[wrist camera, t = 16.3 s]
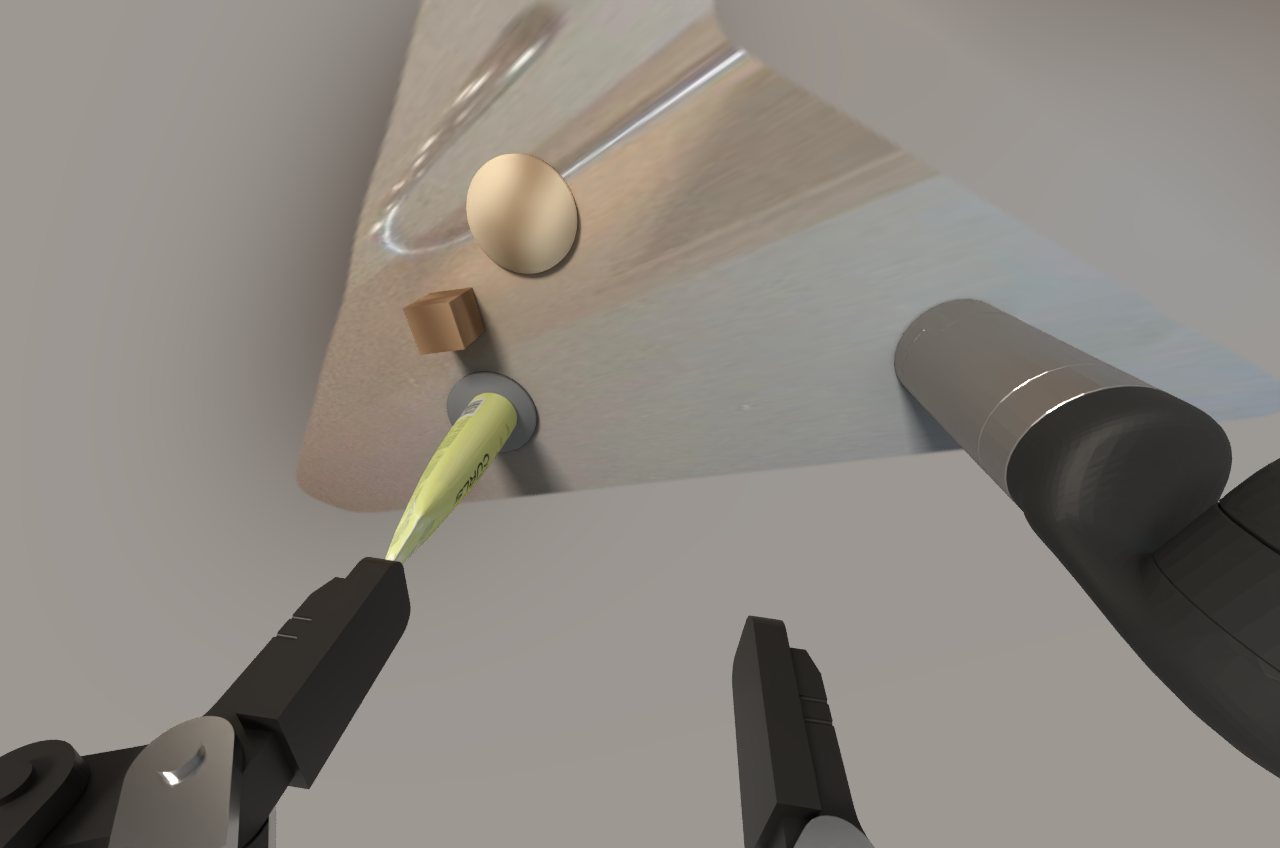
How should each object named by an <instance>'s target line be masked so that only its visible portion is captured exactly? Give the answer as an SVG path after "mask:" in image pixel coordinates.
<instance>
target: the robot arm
mask: <svg viewBox="0 0 1280 848" xmlns="http://www.w3.org/2000/svg"><path fill="white" fill-rule="evenodd" d="M895 369H896V374H897V376H898V378H899V380H900V382H901V383H902V384H903V385H904V386H905V387H906V389H907V390H908V391H909V392H910V393H911V394H912V395H913V396H914V397H915V398H916V399H917V400H918V401H919V402H920V404H921V405H922V406H923V407H924V408H925V409H926V410H927V411H928V412H929V413H930V414H931V415H932V416H933V418H934V419H935V420H936V421H937V422H938V423H939V424H940V425H941V426H942V427H943V428H944V429H945V430H946V431H947V432H948V433H949V434H950V435H951V436H952V438H953V439H954V440H955V441H956V442H957V443H958V444H959V445H960V446H961V447H962V448H963V449H964V450H965V451H966V452H967V453H968V454H969V455H970V456H971V457H972V459H973V460H975V462H976V463H977V464H978V465H979V466H980V467H981V468H982V469H983V470H984V471H985V472H986V473H987V474H988V475H989V476H990V477H991V478H992V479H993V480H994V481H995V482H996V484H997V485H998V486H999V487H1000V488H1001V489H1002V490H1003V491H1004V492H1005V493H1006V494H1007V495H1008V496H1009V497H1010V498H1011V499H1012V500H1013V501H1014V502H1015V503H1016V504H1017V505H1018V507H1019V508H1020V509H1021V510H1022V511H1023V512H1024V515H1025V517H1026V519H1027V521H1028V523H1029V524H1030V526H1031V528H1032V529H1033V530H1034V532H1035V533H1036V534H1037V535H1038V537H1039V538H1040V539H1041V540H1042V541H1043V542H1044V543H1045V545H1046V546H1047V547H1048V548H1049V549H1050V550H1051V551H1052V552H1053V553H1054V555H1055V556H1056V557H1057V558H1058V559H1059V561H1060V562H1061V563H1062V564H1063V565H1064V567H1065V568H1066V569H1067V570H1068V571H1069V572H1070V574H1071V575H1072V576H1073V577H1074V578H1075V580H1076V581H1077V582H1078V583H1079V584H1080V586H1081V587H1082V588H1083V589H1084V591H1085V592H1086V593H1087V594H1088V596H1089V597H1090V598H1091V599H1092V601H1093V602H1094V603H1095V604H1096V605H1097V607H1098V608H1099V609H1100V610H1101V612H1102V613H1103V614H1104V615H1105V617H1106V618H1107V619H1108V620H1109V622H1110V623H1111V624H1112V625H1113V627H1114V628H1115V629H1116V630H1117V632H1118V633H1119V634H1120V635H1121V636H1122V637H1123V639H1124V640H1125V641H1126V642H1127V643H1128V644H1129V645H1130V647H1131V648H1132V649H1133V650H1134V651H1135V653H1136V654H1137V655H1138V656H1139V657H1140V658H1141V660H1142V661H1143V662H1144V663H1145V664H1146V665H1147V666H1148V667H1149V668H1150V670H1151V671H1152V672H1153V673H1154V674H1155V675H1156V676H1157V677H1158V678H1159V679H1160V680H1161V681H1162V682H1163V683H1164V684H1165V685H1166V686H1167V687H1168V688H1169V689H1170V690H1171V691H1172V692H1173V693H1174V694H1175V695H1176V696H1177V697H1178V698H1179V699H1180V700H1181V701H1182V702H1183V703H1184V704H1185V705H1186V706H1187V707H1188V708H1189V709H1190V710H1191V711H1192V712H1193V713H1194V714H1196V715H1197V716H1198V717H1199V718H1200V719H1201V720H1202V721H1204V722H1205V723H1206V724H1207V725H1208V726H1210V727H1211V728H1212V729H1213V730H1214V731H1216V732H1217V733H1218V734H1219V735H1221V736H1222V737H1223V738H1224V739H1225V740H1226V741H1228V742H1229V743H1230V744H1231V745H1233V746H1234V747H1235V748H1236V749H1238V750H1239V751H1240V752H1241V753H1243V754H1244V755H1245V756H1247V757H1248V758H1250V759H1251V760H1252V761H1254V762H1255V763H1257V764H1258V765H1260V766H1261V767H1263V768H1265V769H1266V770H1268V771H1269V772H1271V773H1272V774H1274V775H1276V776H1277V777H1279V778H1280V458H1279V459H1277V460H1276V461H1274V462H1272V463H1270V464H1268V465H1267V466H1265V467H1264V468H1262V469H1260V470H1259V471H1257V472H1256V473H1254V474H1253V475H1252V476H1250V477H1249V478H1248V479H1246V480H1245V481H1243V482H1242V483H1241V484H1239V485H1238V486H1237V487H1236V488H1234V489H1233V490H1232V491H1230V492H1229V493H1228V494H1226V495H1225V496H1224V498H1222V499H1220V496H1221V494H1222V492H1223V490H1224V487H1225V485H1226V483H1227V481H1228V478H1229V474H1230V470H1231V463H1232V452H1231V446H1230V442H1229V440H1228V438H1227V436H1226V433H1225V432H1224V430H1223V429H1222V427H1221V426H1220V425H1218V423H1217V422H1216V421H1215V420H1214V419H1212V418H1211V417H1210V416H1209V415H1208V414H1206V413H1205V412H1203V411H1201V410H1200V409H1198V408H1197V407H1195V406H1193V405H1191V404H1189V403H1187V402H1185V401H1183V400H1181V399H1179V398H1177V397H1175V396H1173V395H1170V394H1168V393H1166V392H1164V391H1162V390H1160V389H1158V388H1156V387H1154V386H1152V385H1150V384H1148V383H1146V382H1144V381H1142V380H1140V379H1138V378H1136V377H1134V376H1132V375H1130V374H1128V373H1126V372H1124V371H1122V370H1120V369H1117V368H1115V367H1113V366H1111V365H1109V364H1107V363H1105V362H1103V361H1101V360H1099V359H1097V358H1095V357H1093V356H1091V355H1089V354H1087V353H1085V352H1083V351H1081V350H1079V349H1077V348H1075V347H1073V346H1071V345H1069V344H1067V343H1065V342H1063V341H1061V340H1059V339H1057V338H1055V337H1053V336H1051V335H1049V334H1047V333H1045V332H1043V331H1041V330H1039V329H1037V328H1035V327H1033V326H1031V325H1029V324H1027V323H1025V322H1023V321H1021V320H1019V319H1017V318H1015V317H1013V316H1011V315H1009V314H1007V313H1005V312H1003V311H1001V310H999V309H997V308H995V307H993V306H991V305H989V304H986V303H984V302H982V301H977V300H971V299H964V300H954V301H950V302H946V303H943V304H940V305H938V306H936V307H934V308H931V309H930V310H928V311H927V312H925V313H924V314H922V315H921V316H920V317H918V318H917V319H916V320H915V321H914V322H913V323H912V324H911V325H910V326H909V327H908V329H907V330H906V331H905V333H904V334H903V336H902V338H901V339H900V341H899V343H898V346H897V350H896V353H895ZM1219 499H1220V500H1219ZM1218 500H1219V501H1220V502H1218ZM409 616H410V601H409V595H408V590H407V584H406V579H405V574H404V568H403V565H402V563H401V562H399V561H392V560H385V559H379V558H372V557H366V558H364V559H362V560H361V561H360V562H359V563H358V564H357V565H356V566H355V568H354V569H353V570H352V571H351V572H350V574H349V575H348V576H347V577H346V579H344V578H338V577H335V578H334V579H333V580H331V581H329V582H328V583H326V584H325V585H323V586H322V587H320V588H319V589H318V590H316V591H315V592H313V593H312V594H311V595H310V596H309V597H308V598H307V599H306V600H305V601H304V603H303V604H302V605H301V606H300V607H299V608H298V609H297V611H296V612H295V613H294V614H293V617H292V619H289V620H288V621H287V622H286V623H285V624H284V626H283V627H282V628H281V629H280V630H279V631H278V634H277V636H276V637H273V638H272V639H271V641H270V642H269V643H268V644H267V645H266V646H265V648H264V649H263V650H262V651H261V652H260V653H259V654H258V655H257V657H256V658H255V659H254V660H253V661H252V662H251V664H250V665H249V666H248V667H247V668H246V669H245V670H244V672H243V673H242V674H241V675H240V676H239V677H238V678H237V680H236V681H235V682H234V683H233V684H232V685H231V687H230V688H229V689H228V690H227V691H226V692H225V693H224V695H223V696H222V697H221V698H220V699H219V700H218V702H217V703H216V704H215V705H214V706H213V707H212V708H211V709H210V710H209V711H208V712H207V713H206V714H205V715H204V716H202V717H199V718H195V719H191V720H189V721H185V722H184V723H181V724H178V725H176V726H175V727H173V728H171V729H169V730H168V731H166V732H165V733H163V734H161V735H160V736H159V737H158V738H156V739H155V740H154V741H152V742H151V743H150V744H148V745H144V746H138V747H133V748H127V749H121V750H115V751H109V752H104V753H98V754H93V755H86V756H80V755H79V754H78V753H77V752H76V750H75V749H74V748H73V747H72V746H71V745H70V744H69V743H67V742H65V741H61V740H46V741H40V742H36V743H32V744H29V745H26V746H23V747H21V748H18V749H16V750H13V751H11V752H9V753H7V754H5V755H3V756H1V757H0V848H276V807H275V805H276V803H277V802H278V800H279V799H280V797H281V796H282V794H283V793H284V791H285V789H286V788H287V786H293V787H299V788H305V789H309V788H310V787H311V785H312V784H313V782H314V780H315V779H316V777H317V775H318V774H319V772H320V770H321V769H322V767H323V765H324V764H325V762H326V760H327V759H328V757H329V756H330V754H331V752H332V751H333V749H334V747H335V746H336V744H337V742H338V741H339V739H340V737H341V736H342V734H343V732H344V731H345V729H346V727H347V726H348V724H349V722H350V721H351V719H352V717H353V716H354V714H355V712H356V711H357V709H358V708H359V706H360V704H361V703H362V701H363V699H364V698H365V696H366V694H367V693H368V691H369V689H370V688H371V686H372V684H373V683H374V681H375V679H376V678H377V676H378V674H379V673H380V671H381V670H382V668H383V666H384V665H385V663H386V661H387V659H388V658H389V656H390V654H391V653H392V651H393V650H394V648H395V646H396V645H397V643H398V641H399V640H400V638H401V636H402V635H403V633H404V631H405V629H406V626H407V623H408V620H409ZM732 688H733V700H734V714H735V727H736V739H737V753H738V766H739V779H740V792H741V806H742V819H743V832H744V845H745V848H874V846H873V845H872V843H871V842H870V841H869V840H868V838H867V836H866V835H865V833H864V831H863V829H862V827H861V825H860V823H859V821H858V818H857V816H856V812H855V809H854V805H853V801H852V798H851V793H850V789H849V785H848V781H847V777H846V773H845V769H844V765H843V761H842V758H841V753H840V749H839V745H838V741H837V737H836V733H835V729H834V726H832V717H831V713H830V709H829V705H828V704H827V697H826V693H825V689H824V685H823V681H822V677H821V673H820V672H819V670H818V668H817V667H816V665H815V664H814V662H813V661H812V659H811V657H810V656H809V654H808V653H807V651H806V650H803V649H796V648H790V647H789V642H788V637H787V632H786V628H785V625H784V623H783V621H781V620H776V619H769V618H763V617H756V616H748V618H747V620H746V623H745V626H744V629H743V632H742V635H741V638H740V642H739V645H738V648H737V651H736V654H735V658H734V663H733V673H732Z"/></svg>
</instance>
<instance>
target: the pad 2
mask: <svg viewBox="0 0 1280 848" xmlns="http://www.w3.org/2000/svg"><path fill="white" fill-rule="evenodd" d="M483 393H495V394H499V395H501V396H503V397H505V398H506V399H507V400H509V401H510V402H511V403H512V405H513V406H514V408H515V410H516V413H517V423H516V426H515V428H514V430H513V431H512V433H511V434H510V436H509V437H508V439H507V441H506V442H505V444H504V445H503V447H502V448H501V450H500V451H499V453H505V452H511V451H514V450H516V449H519V448H520V447H522V446H523V445H524V444H526V443H527V442H528V441H529V439H530V438H531V436H532V434H533V432H534V430H535V428H536V424H537V413H536V408H535V405H534V403H533V400H532V398H531V397H530V395H529V394H528V393H527V391H526V390H525V389H524V388H523V387H522V386H521V385H520V384H518V383H517V382H516V381H514V380H513V379H511V378H509V377H507V376H505V375H502V374H499V373H495V372H487V371H485V372H475V373H472V374H469V375H467V376H465V377H463V378H462V379H460V380H459V381H458V382H457V383H456V384H455V385H454V387H453V388H452V389H451V391H450V393H449V396H448V400H447V412H448V416H449V420H450V422H451V424H452V426H453V425H454V424H455V423H456V421H457V420H458V418H459V417H460V416H461V414H462V413H463V411H464V410H465V409H466V407H467V406H468V405H469V403H470V402H471V401H472V400H473V399H474V398H475V397H476V396H478V395H480V394H483Z"/></svg>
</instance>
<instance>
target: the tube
mask: <svg viewBox="0 0 1280 848" xmlns="http://www.w3.org/2000/svg"><path fill="white" fill-rule="evenodd" d="M516 423H517V413H516V410H515V408H514V406H513V405H512V403H511V402H510V401H509V400H507V399H506V398H505V397H503V396H501V395H499V394H495V393H483V394H480V395H478V396H476V397H475V398H474V399H473V400H472V401H471V402H470V403H469V405H468V406H467V407H466V409H465V410H464V411H463V413H462V414H461V416H460V417H459V418H458V420H457V421H456V423H455V424H454V425H453V427H452V428H451V430H450V431H449V433H448V434H447V436H446V437H445V439H444V440H443V442H442V443H441V445H440V446H439V448H438V449H437V451H436V453H435V454H434V456H433V457H432V459H431V461H430V463H429V464H428V466H427V468H426V470H425V472H424V473H423V475H422V477H421V479H420V481H419V483H418V485H417V487H416V489H415V491H414V493H413V495H412V498H411V500H410V502H409V504H408V506H407V508H406V510H405V512H404V515H403V517H402V519H401V521H400V523H399V525H398V527H397V530H396V532H395V535H394V537H393V540H392V542H391V545H390V547H389V551H388V553H387V556H386V559H385V560H392V561H399V562H401V563H402V564H403V563H404V562H405V561H406V560H407V559H408V558H409V557H410V556H411V555H412V554H413V553H414V552H415V551H416V550H417V549H418V548H419V547H420V546H421V545H422V544H423V543H424V542H425V541H426V540H427V539H428V537H429V536H430V535H431V534H432V533H433V532H434V531H435V530H436V529H437V528H438V527H439V525H440V524H441V523H442V522H443V521H444V520H445V519H446V518H447V517H448V515H449V514H450V513H451V512H452V511H453V510H454V509H455V507H456V506H457V505H458V504H459V503H460V502H461V501H462V500H463V498H464V497H465V496H466V495H467V494H468V493H469V491H470V490H471V489H472V488H473V486H474V485H475V484H476V483H477V481H478V480H479V479H480V478H481V476H482V475H483V474H484V472H485V471H486V470H487V468H488V467H489V465H490V464H491V463H492V461H493V460H494V458H495V457H496V455H497V454H498V453H499V451H500V450H501V448H502V447H503V445H504V444H505V442H506V441H507V439H508V437H509V436H510V434H511V433H512V431H513V430H514V428H515V426H516Z"/></svg>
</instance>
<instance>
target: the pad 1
mask: <svg viewBox="0 0 1280 848" xmlns="http://www.w3.org/2000/svg"><path fill="white" fill-rule="evenodd" d="M467 218H468V222H469V226H470V229H471V232H472V234H473V236H474V238H475V240H476V242H477V243H478V245H479V246H480V248H481V249H482V250H483V252H484V253H485V254H486V255H487V256H488V257H489V258H490V259H492V260H493V261H494V262H495V263H497V264H498V265H500V266H502V267H504V268H506V269H508V270H511V271H513V272H517V273H524V274H533V273H539V272H543V271H545V270H548V269H550V268H552V267H553V266H555V265H556V264H558V263H559V262H560V261H561V260H562V259H563V258H564V257H565V256H566V254H567V253H568V252H569V250H570V248H571V246H572V244H573V242H574V239H575V236H576V232H577V209H576V205H575V201H574V198H573V195H572V193H571V191H570V189H569V187H568V185H567V184H566V182H565V181H564V179H563V178H562V177H561V175H560V174H559V173H558V172H557V171H556V170H555V169H554V168H553V167H551V166H550V165H549V164H547V163H546V162H544V161H542V160H540V159H538V158H536V157H533V156H530V155H525V154H506V155H502V156H498V157H496V158H494V159H492V160H490V161H489V162H487V163H486V164H485V165H483V166H482V167H481V168H480V169H479V171H478V172H477V173H476V175H475V176H474V178H473V180H472V182H471V184H470V187H469V191H468V195H467Z"/></svg>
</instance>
